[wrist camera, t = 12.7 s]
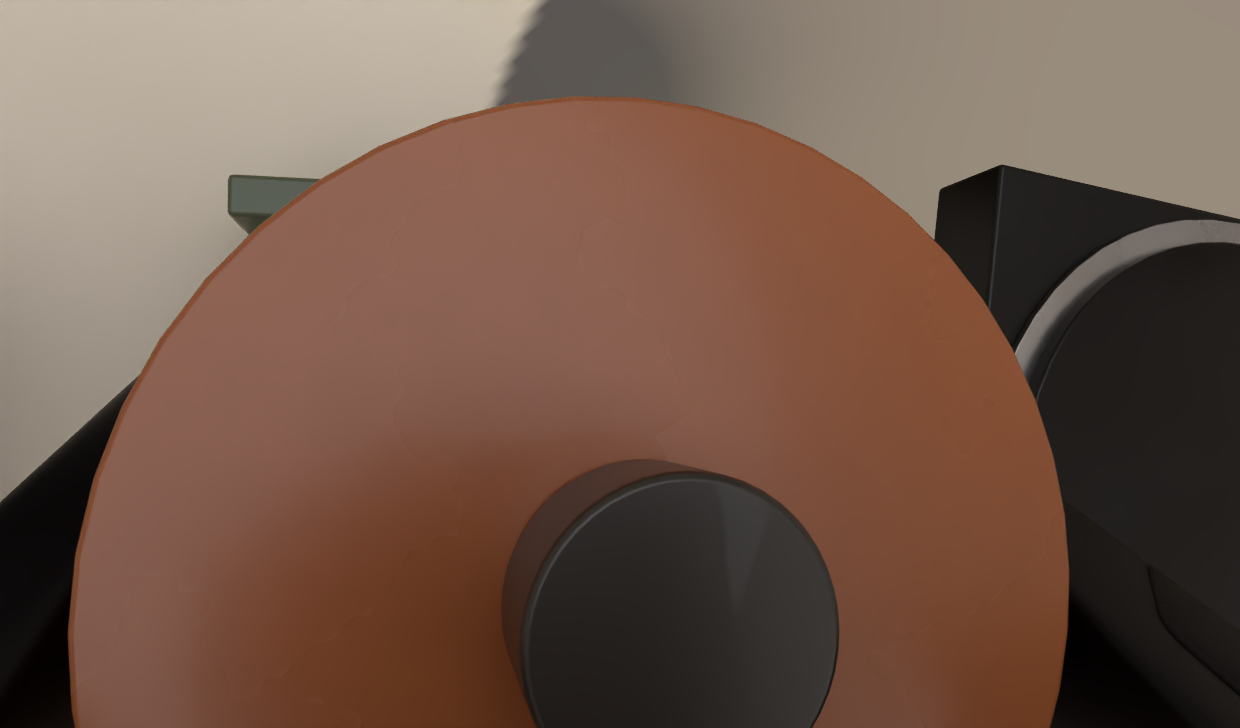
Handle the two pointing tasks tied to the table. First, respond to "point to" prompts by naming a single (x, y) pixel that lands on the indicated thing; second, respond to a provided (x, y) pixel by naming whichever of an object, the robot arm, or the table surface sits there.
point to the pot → (577, 454)
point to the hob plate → (1150, 398)
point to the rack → (261, 197)
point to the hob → (1036, 233)
